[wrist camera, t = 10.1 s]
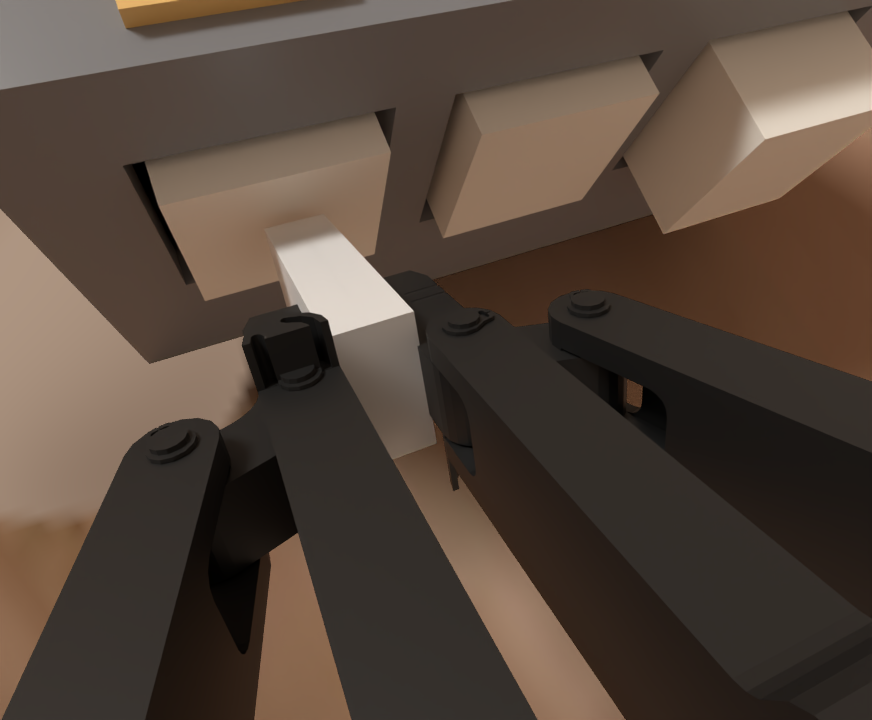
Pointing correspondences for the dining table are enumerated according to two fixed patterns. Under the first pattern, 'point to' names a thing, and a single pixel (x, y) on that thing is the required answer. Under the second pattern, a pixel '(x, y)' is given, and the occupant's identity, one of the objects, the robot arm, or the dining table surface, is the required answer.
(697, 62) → the key
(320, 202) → the key
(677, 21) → the keypad
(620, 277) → the dining table surface
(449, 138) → the key middle
